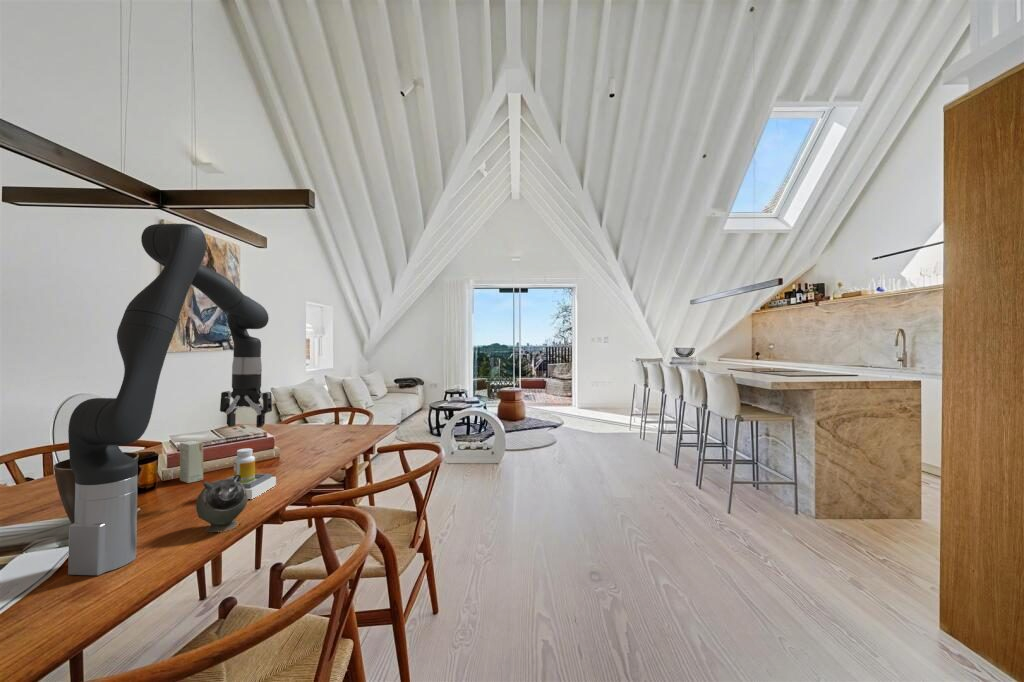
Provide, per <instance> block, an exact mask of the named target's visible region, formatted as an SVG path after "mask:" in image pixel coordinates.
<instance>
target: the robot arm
mask: <svg viewBox="0 0 1024 682" xmlns="http://www.w3.org/2000/svg"><path fill="white" fill-rule="evenodd" d="M140 238H141V239H140V240H141V241H140V242H141V246H142V247H143V251H145V253H146V254H147V255H148V256H149V257H150V258H151V259H152V260H154V261H155V262H156V263H157V264H159V265H161V266H162V267H163V269H162V270H161V272H160V273H159V274H158V276H157V277H156V278H154V279H153V280H151V282H150V283H148V285H147V286H146V287H144V288H143V289H141V291H140V292H138V293H137V295H136V296H134V297H133V299H132V300H131V301H130V302H129V303H128V305H127V306H126V308H125V310H124V313H123V316H122V318H121V321H120V323H119V326H118V329H117V330H116V331H117V333H116V341H117V345H118V350H119V352H120V355H121V358H122V359H121V360H122V362H123V366H124V367H123V369H124V371H123V372H124V373H123V378H122V379H123V380H122V381H121V386H120V388H119V391H118V393H117V396H116V398H115V397H114V398H113V397H95V398H90V399H89V398H88V399H86V400H84V401H82V402H80V403H79V404H78V405H76V407H75V408H74V410H73V411H72V412H71V415H70V418H69V422H68V430H67V431H68V433H67V434H68V452H69V453H68V454H69V455H68V456H69V459H70V466H71V469H72V471H73V472H74V474H75V482H76V483H75V523H73V524H72V523H71V524H70V525H69V526H68V559H67V561H68V568H67V574H68V575H73V576H74V575H75V576H100V575H102V574H104V573H107V572H110V571H114V570H116V569H119V568H122V567H124V566H126V565H129V564H130V563H132V561H134V560H135V559H136V558H137V541H138V540H137V536H138V535H137V531H138V530H137V528H138V527H137V526H138V524H137V523H138V521H137V520H138V481H139V480H138V476H139V475H138V472H139V464H138V463H139V462H138V463H137V461H136V460H135V459H133V458H131V457H129V456H127V455H126V454H124V453H123V452H124V451H122V450H121V449H120V447H119V446H126V445H131V444H133V443H135V442H137V441H138V440H140V439H141V437H142V436H144V434H145V433H146V430H147V428H148V426H149V423H150V421H151V418H152V414H153V408H154V404H155V401H156V400H155V399H156V394H157V389H158V385H159V380H160V377H161V373H162V370H163V366H164V364H165V361H166V357H167V353H168V350H169V348H170V345H171V342H172V340H173V338H174V334H175V331H176V329H177V326H178V323H179V318H180V315H181V312H182V309H183V306H184V304H185V301H186V298H187V295H188V293H189V290H190V288H191V286H193V287H194V288H196V289H197V290H198V291H200V292H201V293H203V294H204V295H205V296H206V297H207V298H208V299H209V300H210V301H211V302H213V304H214V305H216V306H217V307H218V308H219V309H220V310H221V311H223V312H224V313H227V317H226V319H227V324H228V328H229V331H230V335H231V339H232V342H233V354H232V355H233V358H232V364H231V365H232V366H231V388H232V392H231V391H229V390H228V391H222V392H221V394H220V405H219V411H220V412H221V413H225V414H226V425H227V427H228V428H232V427H235V426H236V412H237V410H238V409H239V408H240V407H241V408H242V407H246V408H251V409H252V410H254V411H255V412H256V424H255V425H256V428H259V429H260V428H263V427H264V425H265V424H266V423H265V421H266V420H265V419H266V414H267V413H270V412H272V411H273V402H272V397H273V396H272V392H271V391H267V392H266V391H265V392H262V391H261V387H262V366H263V364H262V358H261V357H262V341H261V339H259V338H258V337H253V336H251V335H250V334H249V332H248V330H261V329H263V328H265V327H266V326H267V324H268V323H269V318H270V317H269V313H268V311H267V310H266V308H265V307H264V306H263V305H262V304H261V303H259V302H257V301H255V300H254V299H252V298H250V297H249V296H247V295H245V294H244V293H243V292H242V291H241V290H240V289H239V288H238V287H237V286H236V285H235V284H234V283H233V282H232V281H231V280H230V279H229V278H227V277H225V276H224V275H222V274H220V273H219V272H217V271H215V270H213V269H211V268H209V267H208V266H206V265H204V264H202V263H203V261H204V258H205V255H206V253H207V238H206V235H205V233H204V231H203V230H202V229H201V228H200V227H198V226H197V225H194V224H190V223H155V224H150V225H147V226H146V227H145V228H144V229H143V231H142V233H141V237H140ZM231 398H232V402H231ZM260 399H262V402H261V400H260Z"/></svg>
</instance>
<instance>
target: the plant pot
mask: <svg viewBox="0 0 1024 682" xmlns="http://www.w3.org/2000/svg"><path fill="white" fill-rule="evenodd" d="M122 452H123V453H124V454H126V455H127V456H129V457H131V458H133V459H135V460H136V461H137V463H139V456H140V455H139V454H138V453H135V452H130V451H129V452H127V451H126V452H124V451H122ZM53 472H54V476H55V482H56V486H57V490H58V494H59V498H60V500H61V503H62V506H63V508H64V511H65V513H66V515H67V517H68V520H69V522H70V523H71V524H73V523H75V483H76V482H75V474H74V472H73V471H72V469H71V466H70V458H69V459H65V460H62V461H59V462H57V463H55V464H54V465H53Z"/></svg>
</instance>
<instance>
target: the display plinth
mask: <svg viewBox="0 0 1024 682" xmlns="http://www.w3.org/2000/svg"><path fill="white" fill-rule="evenodd" d="M226 479H234V475H231V476H230V477H227V478H226ZM241 484H242V485H243V486H244V487H245V489H246V492H247V499H253V498H255V497H257V496H258V497H260V496H262V495H263V494H262V493H264V492H265V493H267V492H268V491H267V490H269V489H270V488H272V487H274V486H275V485H276V486H277V476H272V473H256V472H255V481H253V482H251V483H241ZM274 488H275V487H274ZM272 489H273V488H272ZM266 491H267V492H266ZM269 491H270V490H269ZM265 493H264V494H265ZM261 494H262V495H261ZM259 495H260V496H259ZM258 497H257V498H258ZM255 499H256V498H255ZM253 500H254V499H253Z"/></svg>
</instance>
